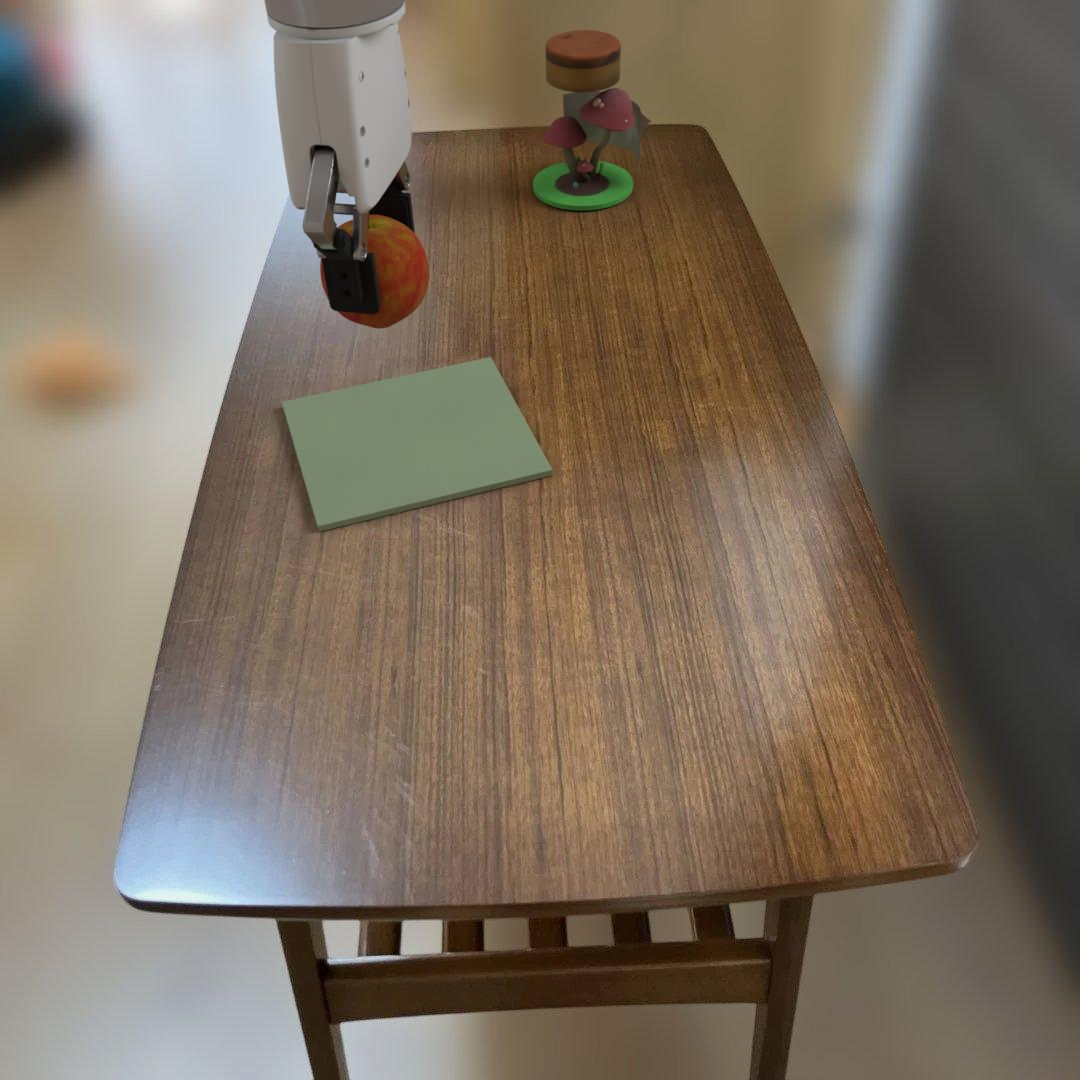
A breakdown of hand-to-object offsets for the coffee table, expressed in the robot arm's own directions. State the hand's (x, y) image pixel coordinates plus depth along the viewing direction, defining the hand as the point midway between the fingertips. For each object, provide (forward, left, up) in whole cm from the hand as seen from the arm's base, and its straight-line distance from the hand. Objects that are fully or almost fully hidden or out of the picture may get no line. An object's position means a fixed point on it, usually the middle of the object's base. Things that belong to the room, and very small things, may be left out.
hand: (374, 276), depth 73 cm
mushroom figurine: (+30, +40, -18) cm, 53 cm away
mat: (+2, +5, -18) cm, 19 cm away
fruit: (0, 0, -3) cm, 3 cm away
